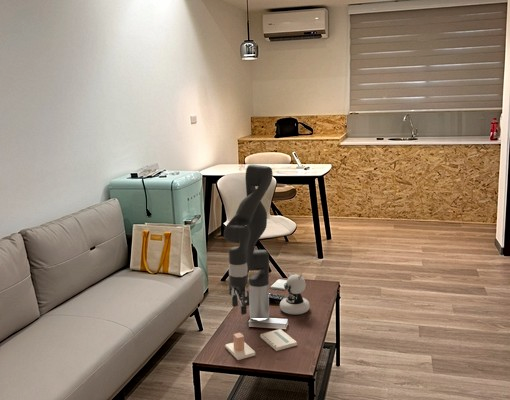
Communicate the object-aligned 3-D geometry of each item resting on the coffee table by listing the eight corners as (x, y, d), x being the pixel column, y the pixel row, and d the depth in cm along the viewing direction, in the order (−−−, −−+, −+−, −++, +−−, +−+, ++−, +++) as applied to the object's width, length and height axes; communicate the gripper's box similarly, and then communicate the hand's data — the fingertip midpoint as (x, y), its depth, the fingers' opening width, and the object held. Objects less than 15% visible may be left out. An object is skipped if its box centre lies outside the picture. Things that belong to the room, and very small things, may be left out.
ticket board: (260, 337, 233) (260, 333, 232) (280, 332, 237) (280, 328, 237) (276, 350, 221) (276, 347, 220) (296, 345, 225) (296, 341, 225)
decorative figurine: (273, 309, 262) (272, 270, 257) (295, 301, 270) (295, 264, 266) (293, 319, 250) (293, 279, 246) (316, 310, 259) (316, 271, 254)
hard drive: (284, 288, 284) (292, 280, 295) (270, 286, 288) (278, 278, 299) (284, 291, 285) (292, 283, 296) (270, 289, 288) (278, 281, 299)
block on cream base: (225, 347, 224) (224, 331, 223) (242, 343, 228) (242, 327, 226) (237, 360, 214) (237, 343, 212) (255, 355, 217) (255, 338, 216)
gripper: (222, 269, 218) (224, 305, 222) (237, 280, 206) (238, 318, 210) (239, 265, 222) (240, 302, 225) (254, 276, 209) (255, 314, 213)
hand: (239, 310), depth 217 cm, fingers open, 8 cm apart
